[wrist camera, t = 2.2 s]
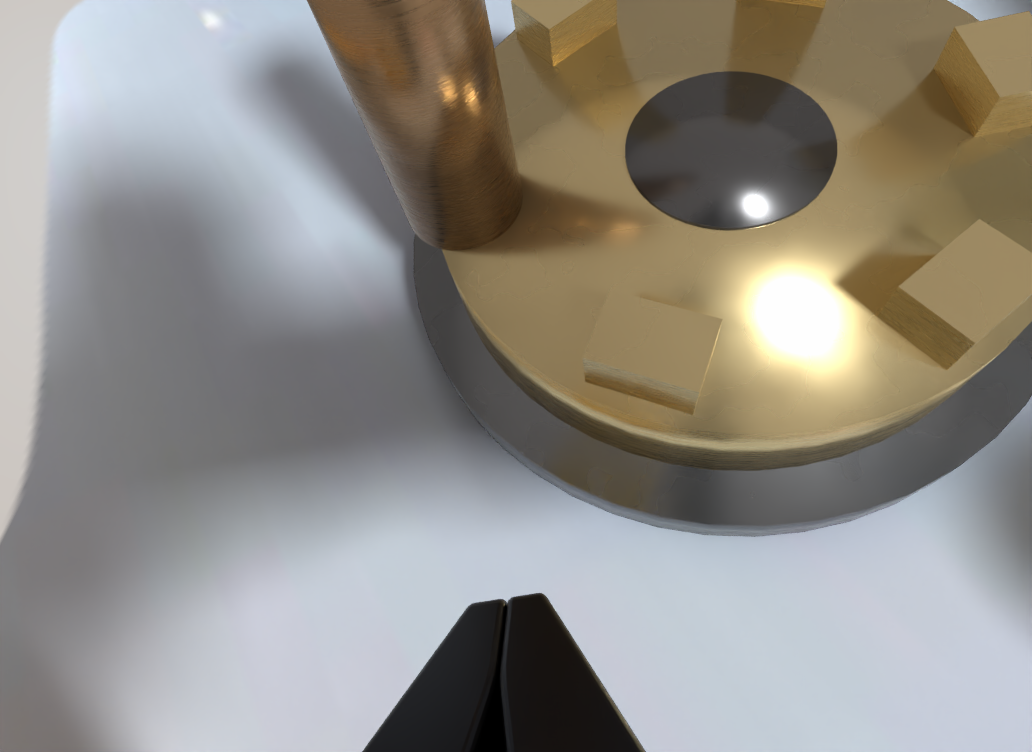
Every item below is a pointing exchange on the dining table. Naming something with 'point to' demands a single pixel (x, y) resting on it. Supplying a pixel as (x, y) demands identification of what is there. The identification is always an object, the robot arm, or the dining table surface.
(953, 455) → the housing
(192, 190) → the dining table surface
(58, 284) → the dining table surface
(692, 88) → the brass turntable disc
